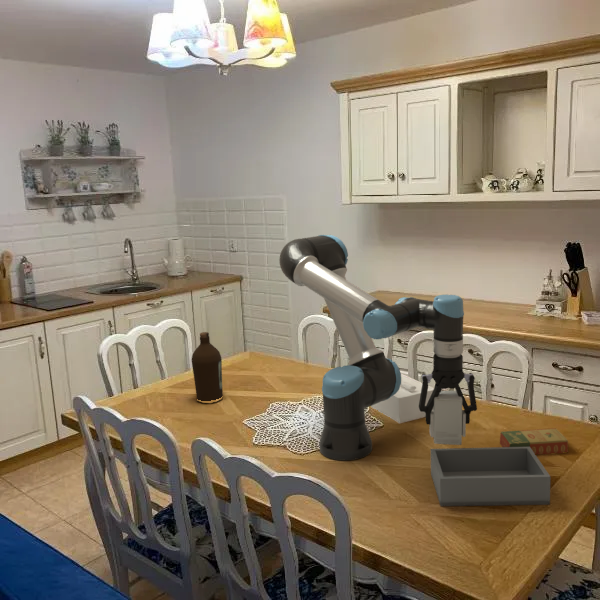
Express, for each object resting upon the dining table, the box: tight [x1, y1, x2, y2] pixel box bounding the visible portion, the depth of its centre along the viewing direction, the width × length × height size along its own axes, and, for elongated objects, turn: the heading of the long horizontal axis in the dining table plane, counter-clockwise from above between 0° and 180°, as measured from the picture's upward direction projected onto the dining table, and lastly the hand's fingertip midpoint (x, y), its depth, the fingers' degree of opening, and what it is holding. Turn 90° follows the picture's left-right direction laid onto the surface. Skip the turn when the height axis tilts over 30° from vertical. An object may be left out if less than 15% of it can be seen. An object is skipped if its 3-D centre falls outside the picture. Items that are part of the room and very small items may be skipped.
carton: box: [499, 427, 569, 455], centre depth 172 cm, size 8×16×4 cm, turn 90°
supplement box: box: [432, 390, 463, 446], centre depth 166 cm, size 7×7×13 cm
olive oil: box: [191, 331, 224, 401], centre depth 222 cm, size 11×11×25 cm
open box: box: [430, 446, 551, 507], centre depth 151 cm, size 25×16×7 cm, turn 86°
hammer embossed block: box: [370, 373, 434, 424], centre depth 207 cm, size 14×25×11 cm, turn 26°
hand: (447, 434), depth 167 cm, fingers closed on supplement box, 8 cm apart
